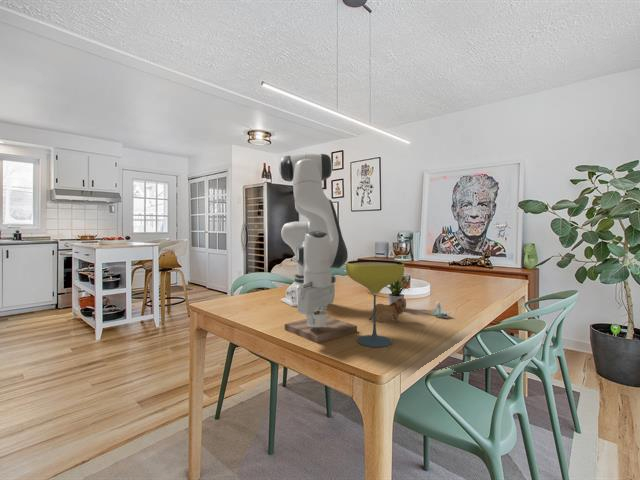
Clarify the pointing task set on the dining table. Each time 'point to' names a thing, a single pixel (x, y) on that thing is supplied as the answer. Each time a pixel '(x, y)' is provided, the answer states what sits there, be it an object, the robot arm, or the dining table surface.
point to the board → (321, 329)
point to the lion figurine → (390, 309)
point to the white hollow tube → (320, 319)
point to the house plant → (396, 290)
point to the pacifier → (439, 311)
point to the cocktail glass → (375, 288)
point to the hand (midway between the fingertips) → (317, 321)
